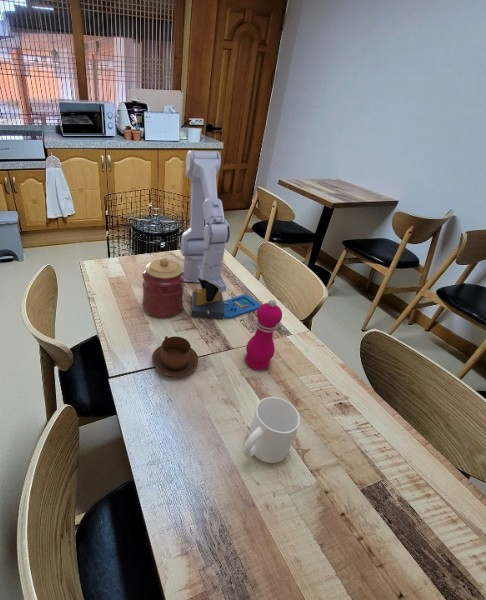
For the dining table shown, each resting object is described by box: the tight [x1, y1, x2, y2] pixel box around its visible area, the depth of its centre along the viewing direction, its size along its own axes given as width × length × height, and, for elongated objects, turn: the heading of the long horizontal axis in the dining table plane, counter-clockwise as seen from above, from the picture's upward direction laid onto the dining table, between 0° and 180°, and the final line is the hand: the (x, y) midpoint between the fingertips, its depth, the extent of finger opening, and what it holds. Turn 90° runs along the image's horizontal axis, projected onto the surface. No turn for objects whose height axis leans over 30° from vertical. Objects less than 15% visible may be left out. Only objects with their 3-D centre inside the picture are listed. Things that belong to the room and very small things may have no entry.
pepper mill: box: [245, 299, 283, 371], centre depth 85 cm, size 7×7×20 cm
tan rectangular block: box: [195, 288, 223, 306], centre depth 108 cm, size 9×2×5 cm, turn 116°
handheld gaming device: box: [223, 294, 262, 320], centre depth 112 cm, size 8×1×15 cm
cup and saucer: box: [151, 335, 199, 377], centre depth 87 cm, size 12×12×6 cm
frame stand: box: [187, 291, 228, 320], centre depth 110 cm, size 13×13×3 cm
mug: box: [242, 396, 301, 464], centre depth 67 cm, size 12×8×10 cm
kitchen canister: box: [142, 256, 185, 319], centre depth 105 cm, size 13×13×18 cm
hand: (208, 299), depth 109 cm, fingers closed on tan rectangular block, 2 cm apart
